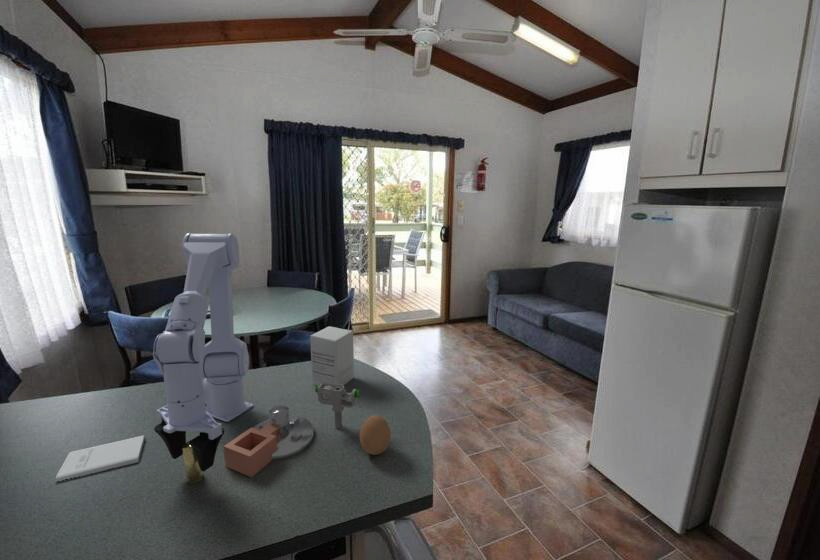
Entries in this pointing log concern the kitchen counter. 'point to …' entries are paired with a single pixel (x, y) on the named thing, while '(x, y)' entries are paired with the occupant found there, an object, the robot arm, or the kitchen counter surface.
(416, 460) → the kitchen counter surface
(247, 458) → the bracket
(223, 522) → the kitchen counter surface
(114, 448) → the external hard drive
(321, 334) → the supplement box
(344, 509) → the kitchen counter surface
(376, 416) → the egg
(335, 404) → the mechanical component
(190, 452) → the gold capsule
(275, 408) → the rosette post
